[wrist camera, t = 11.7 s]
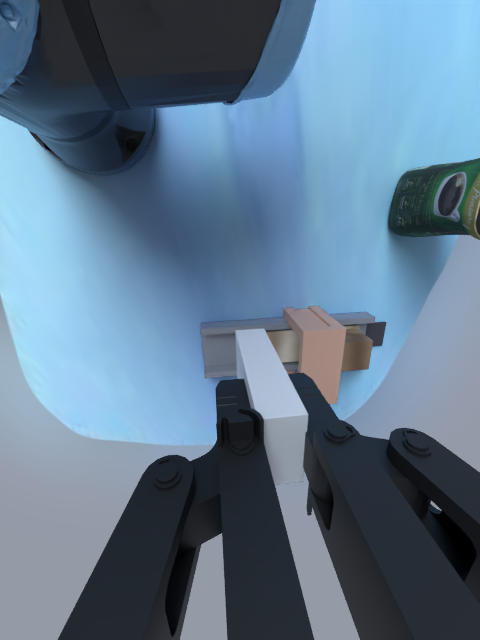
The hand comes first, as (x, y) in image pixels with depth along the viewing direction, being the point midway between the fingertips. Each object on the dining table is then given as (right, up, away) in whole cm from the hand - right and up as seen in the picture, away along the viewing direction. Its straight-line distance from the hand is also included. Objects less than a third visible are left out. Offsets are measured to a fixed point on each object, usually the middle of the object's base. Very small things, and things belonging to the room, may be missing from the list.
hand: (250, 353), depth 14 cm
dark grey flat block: (+24, -1, +35) cm, 42 cm away
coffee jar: (+26, +20, +28) cm, 43 cm away
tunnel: (+10, -2, +34) cm, 35 cm away
